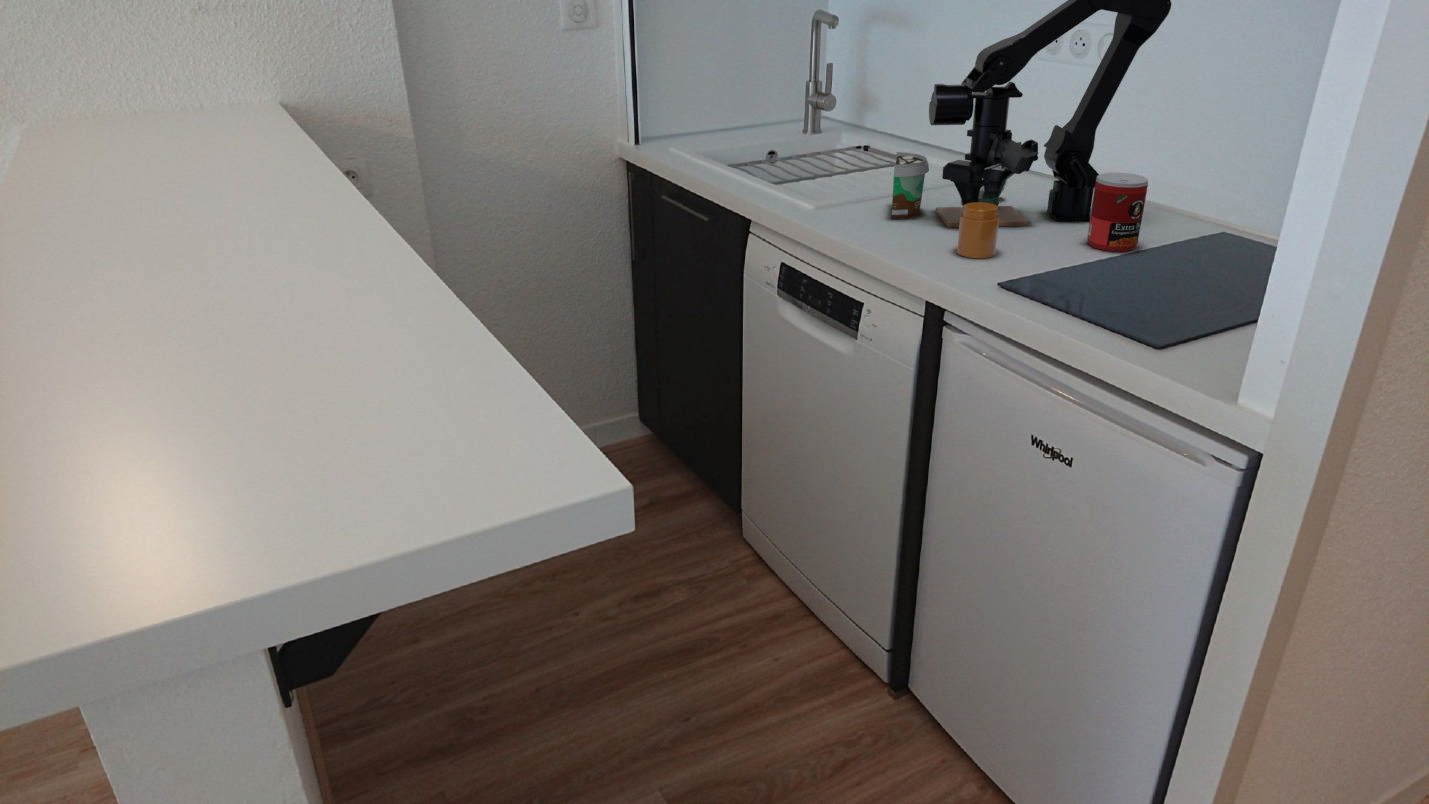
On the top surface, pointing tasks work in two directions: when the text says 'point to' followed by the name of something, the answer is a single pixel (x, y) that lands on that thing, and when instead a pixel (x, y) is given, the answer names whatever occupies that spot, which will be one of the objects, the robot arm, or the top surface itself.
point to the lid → (987, 197)
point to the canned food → (1117, 211)
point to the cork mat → (1005, 213)
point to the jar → (978, 230)
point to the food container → (908, 184)
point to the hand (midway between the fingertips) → (980, 212)
